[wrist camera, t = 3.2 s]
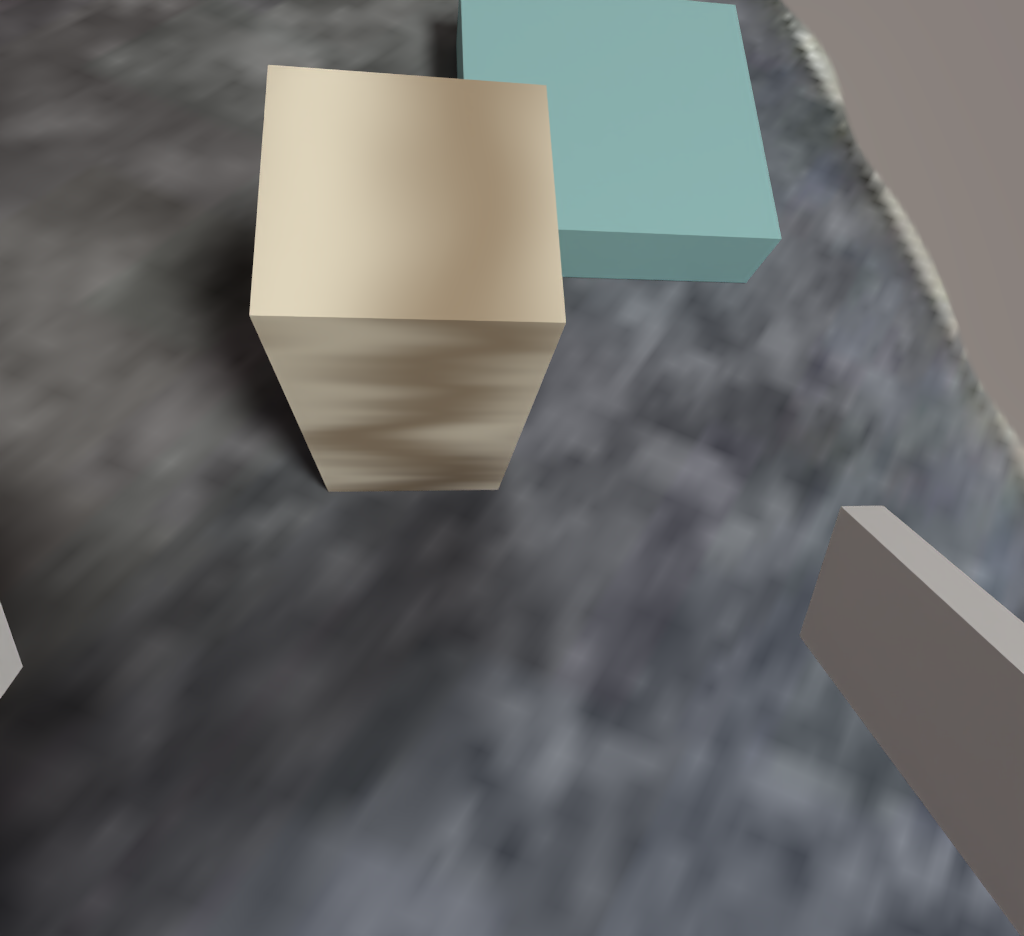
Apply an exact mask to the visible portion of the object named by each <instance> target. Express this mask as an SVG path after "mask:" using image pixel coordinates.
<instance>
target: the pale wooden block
mask: <svg viewBox="0 0 1024 936" xmlns="http://www.w3.org/2000/svg"><path fill="white" fill-rule="evenodd" d="M249 316H250V318H251V320H252V322H253V325H254V327H255V329H256V331H257V334H258V336H259V338H260V340H261V343H262V345H263V347H264V349H265V351H266V354H267V356H268V358H269V360H270V363H271V365H272V367H273V369H274V372H275V374H276V376H277V378H278V380H279V383H280V385H281V387H282V389H283V392H284V394H285V396H286V398H287V401H288V403H289V405H290V407H291V409H292V412H293V414H294V416H295V418H296V421H297V423H298V425H299V427H300V430H301V432H302V434H303V436H304V438H305V441H306V443H307V445H308V447H309V450H310V452H311V454H312V456H313V459H314V461H315V463H316V465H317V467H318V470H319V472H320V474H321V476H322V479H323V481H324V483H325V485H326V487H327V490H328V492H342V491H430V490H498V488H499V486H500V484H501V481H502V479H503V476H504V474H505V471H506V469H507V466H508V464H509V461H510V459H511V457H512V454H513V452H514V449H515V447H516V444H517V442H518V439H519V437H520V434H521V432H522V429H523V427H524V425H525V422H526V420H527V417H528V415H529V412H530V410H531V407H532V405H533V402H534V400H535V397H536V395H537V393H538V390H539V388H540V385H541V383H542V380H543V378H544V375H545V373H546V370H547V368H548V366H549V363H550V361H551V358H552V356H553V353H554V351H555V348H556V346H557V343H558V341H559V338H560V336H561V334H562V331H563V329H564V326H565V324H566V318H565V306H564V294H563V281H562V269H561V257H560V245H559V233H558V221H557V209H556V196H555V184H554V172H553V160H552V148H551V136H550V123H549V111H548V99H547V87H546V85H537V84H523V83H510V82H496V81H482V80H468V79H455V78H441V77H427V76H413V75H400V74H386V73H372V72H358V71H345V70H331V69H317V68H303V67H290V66H276V65H268V74H267V87H266V100H265V113H264V127H263V140H262V153H261V167H260V180H259V193H258V206H257V220H256V233H255V246H254V260H253V273H252V286H251V299H250V313H249Z"/></svg>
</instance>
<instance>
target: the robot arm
mask: <svg viewBox="0 0 1024 936" xmlns="http://www.w3.org/2000/svg"><path fill="white" fill-rule="evenodd" d="M800 637H801V639H802V640H803V641H804V643H805V644H806V645H807V647H808V648H809V649H810V651H811V652H812V654H813V655H814V656H815V658H816V659H817V660H818V662H819V663H820V664H821V666H822V667H823V668H824V670H825V671H826V672H827V674H828V675H829V677H830V678H831V679H832V681H833V682H834V683H835V685H836V686H837V687H838V689H839V690H840V691H841V693H842V694H843V696H844V697H845V698H846V700H847V701H848V702H849V704H850V705H851V706H852V708H853V709H854V710H855V712H856V713H857V715H858V716H859V717H860V719H861V720H862V721H863V723H864V724H865V725H866V727H867V728H868V729H869V731H870V732H871V733H872V735H873V736H874V738H875V739H876V740H877V742H878V743H879V744H880V746H881V747H882V748H883V750H884V751H885V752H886V754H887V755H888V757H889V758H890V759H891V761H892V762H893V763H894V765H895V766H896V767H897V769H898V770H899V771H900V773H901V774H902V775H903V777H904V778H905V780H906V781H907V782H908V784H909V785H910V786H911V788H912V789H913V790H914V792H915V793H916V794H917V796H918V797H919V799H920V800H921V801H922V803H923V804H924V805H925V807H926V808H927V809H928V811H929V812H930V813H931V815H932V816H933V818H934V819H935V820H936V822H937V823H938V824H939V826H940V827H941V828H942V830H943V831H944V832H945V834H946V835H947V836H948V838H949V839H950V841H951V842H952V843H953V845H954V846H955V847H956V849H957V850H958V851H959V853H960V854H961V855H962V857H963V858H964V860H965V861H966V862H967V864H968V865H969V866H970V868H971V869H972V870H973V872H974V873H975V874H976V876H977V877H978V879H979V880H980V881H981V883H982V884H983V885H984V887H985V888H986V889H987V891H988V892H989V893H990V895H991V896H992V897H993V899H994V900H995V902H996V903H997V904H998V906H999V907H1000V908H1001V910H1002V911H1003V912H1004V914H1005V915H1006V916H1007V918H1008V919H1009V921H1010V922H1011V923H1012V925H1013V926H1014V927H1015V929H1016V930H1017V931H1018V933H1019V934H1020V935H1021V936H1024V623H1023V622H1022V621H1021V620H1019V619H1018V618H1017V617H1016V616H1015V615H1013V614H1012V613H1011V612H1010V611H1009V610H1008V609H1006V608H1005V607H1004V606H1003V605H1002V604H1000V603H999V602H998V601H997V600H996V599H994V598H993V597H992V596H991V595H990V594H988V593H987V592H986V591H985V590H984V589H982V588H981V587H980V586H979V585H978V584H976V583H975V582H974V581H973V580H972V579H970V578H969V577H968V576H967V575H966V574H964V573H963V572H962V571H961V570H960V569H958V568H957V567H956V566H955V565H954V564H952V563H951V562H950V561H949V560H948V559H946V558H945V557H944V556H943V555H942V554H940V553H939V552H938V551H937V550H936V549H934V548H933V547H932V546H931V545H930V544H928V543H927V542H926V541H925V540H924V539H922V538H921V537H920V536H919V535H918V534H916V533H915V532H914V531H913V530H912V529H910V528H909V527H908V526H907V525H906V524H904V523H903V522H902V521H901V520H900V519H898V518H897V517H896V516H895V515H894V514H892V513H891V512H890V511H889V510H888V509H886V508H885V507H884V506H841V508H840V511H839V514H838V517H837V520H836V524H835V527H834V530H833V533H832V536H831V539H830V542H829V545H828V549H827V552H826V555H825V558H824V561H823V564H822V567H821V570H820V573H819V577H818V580H817V583H816V586H815V589H814V592H813V595H812V598H811V602H810V605H809V608H808V611H807V614H806V617H805V620H804V623H803V627H802V630H801V633H800ZM22 667H23V666H22V663H21V660H20V657H19V654H18V652H17V649H16V646H15V643H14V640H13V637H12V634H11V631H10V628H9V626H8V623H7V620H6V617H5V614H4V611H3V608H2V605H1V602H0V698H1V697H2V695H3V694H4V693H5V691H6V690H7V688H8V687H9V686H10V684H11V683H12V681H13V680H14V679H15V677H16V676H17V674H18V673H19V672H20V670H21V669H22Z"/></svg>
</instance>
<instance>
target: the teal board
mask: <svg viewBox="0 0 1024 936" xmlns="http://www.w3.org/2000/svg"><path fill="white" fill-rule="evenodd" d="M456 52H457V79H468V80H482V81H496V82H510V83H523V84H537V85H546V87H547V99H548V111H549V123H550V136H551V148H552V160H553V172H554V184H555V196H556V209H557V221H558V233H559V245H560V257H561V269H562V277H583V278H614V279H644V280H675V281H705V282H736V283H746V282H747V281H748V280H749V278H750V277H751V276H752V275H753V274H754V272H755V271H756V270H757V269H758V267H759V266H760V265H761V264H762V262H763V261H764V260H765V259H766V257H767V256H768V255H769V254H770V253H771V251H772V250H773V249H774V248H775V246H776V245H777V244H778V243H779V241H780V240H781V234H780V229H779V224H778V219H777V214H776V209H775V204H774V199H773V194H772V189H771V184H770V178H769V173H768V168H767V163H766V158H765V153H764V148H763V143H762V138H761V133H760V128H759V123H758V118H757V113H756V108H755V103H754V97H753V92H752V87H751V82H750V77H749V72H748V67H747V62H746V57H745V52H744V47H743V42H742V37H741V32H740V27H739V21H738V16H737V11H736V6H735V5H730V4H719V3H708V2H697V1H687V0H459V7H458V24H457V40H456Z"/></svg>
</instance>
